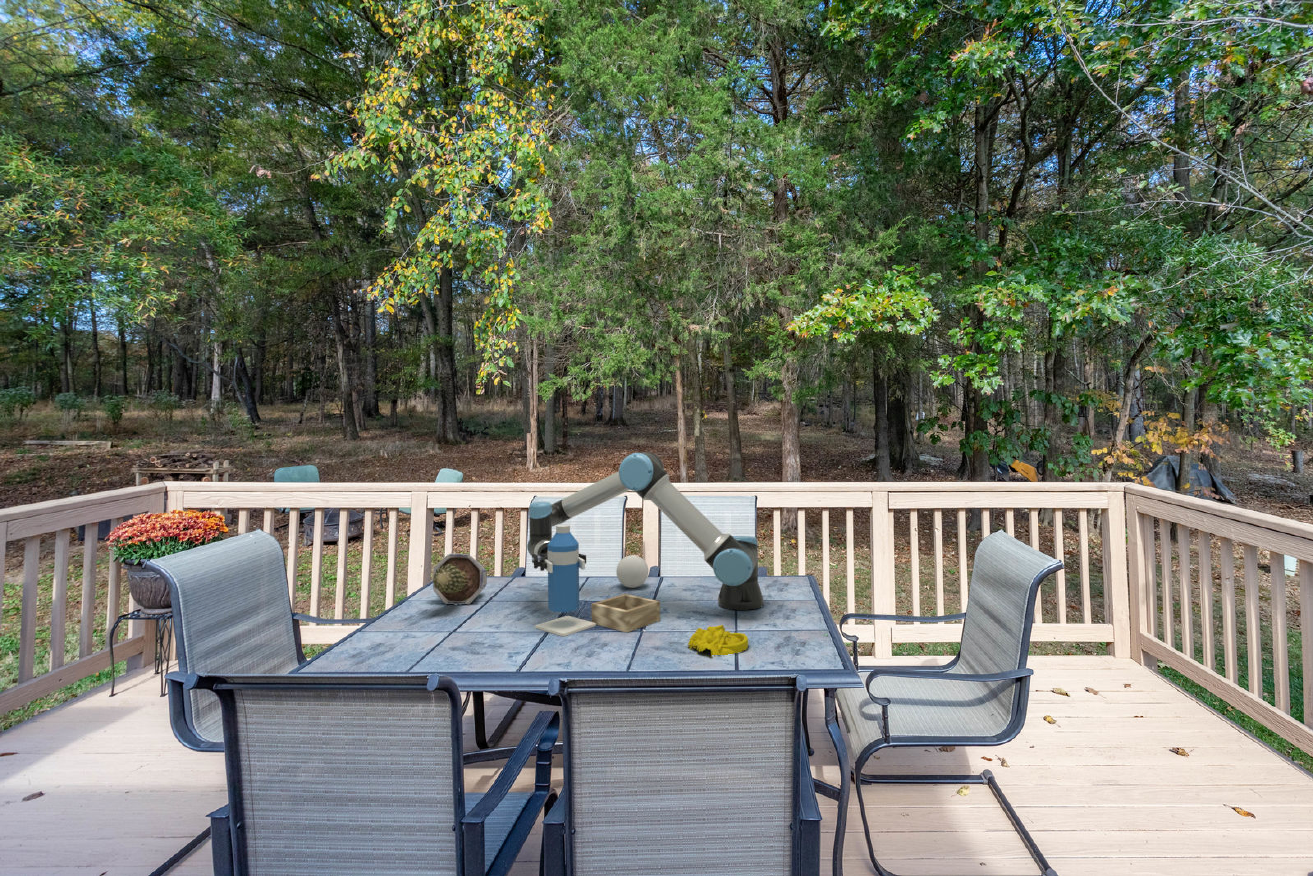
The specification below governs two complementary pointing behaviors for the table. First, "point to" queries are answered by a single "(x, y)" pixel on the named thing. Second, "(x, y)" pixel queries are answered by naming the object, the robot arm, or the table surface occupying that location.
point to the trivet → (565, 625)
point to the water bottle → (563, 571)
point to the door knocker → (718, 641)
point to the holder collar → (625, 612)
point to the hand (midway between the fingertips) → (567, 566)
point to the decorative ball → (632, 571)
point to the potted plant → (459, 579)
